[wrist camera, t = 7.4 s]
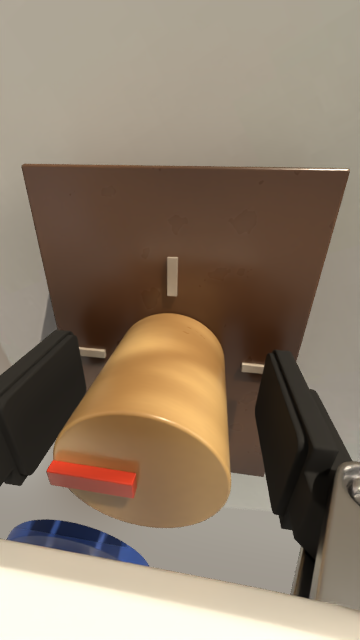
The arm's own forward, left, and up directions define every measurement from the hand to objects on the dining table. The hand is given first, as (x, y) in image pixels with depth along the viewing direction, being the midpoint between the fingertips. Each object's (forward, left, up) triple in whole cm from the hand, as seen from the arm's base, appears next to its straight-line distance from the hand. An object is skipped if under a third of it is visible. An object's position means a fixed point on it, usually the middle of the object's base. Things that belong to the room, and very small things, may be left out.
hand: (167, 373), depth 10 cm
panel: (0, 0, -4) cm, 4 cm away
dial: (0, 0, -1) cm, 1 cm away
